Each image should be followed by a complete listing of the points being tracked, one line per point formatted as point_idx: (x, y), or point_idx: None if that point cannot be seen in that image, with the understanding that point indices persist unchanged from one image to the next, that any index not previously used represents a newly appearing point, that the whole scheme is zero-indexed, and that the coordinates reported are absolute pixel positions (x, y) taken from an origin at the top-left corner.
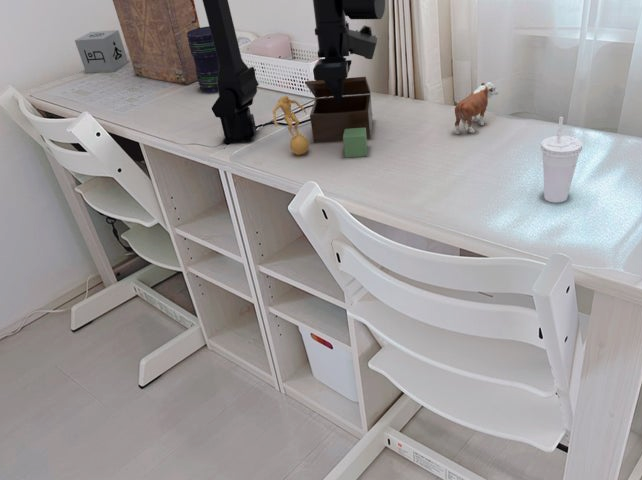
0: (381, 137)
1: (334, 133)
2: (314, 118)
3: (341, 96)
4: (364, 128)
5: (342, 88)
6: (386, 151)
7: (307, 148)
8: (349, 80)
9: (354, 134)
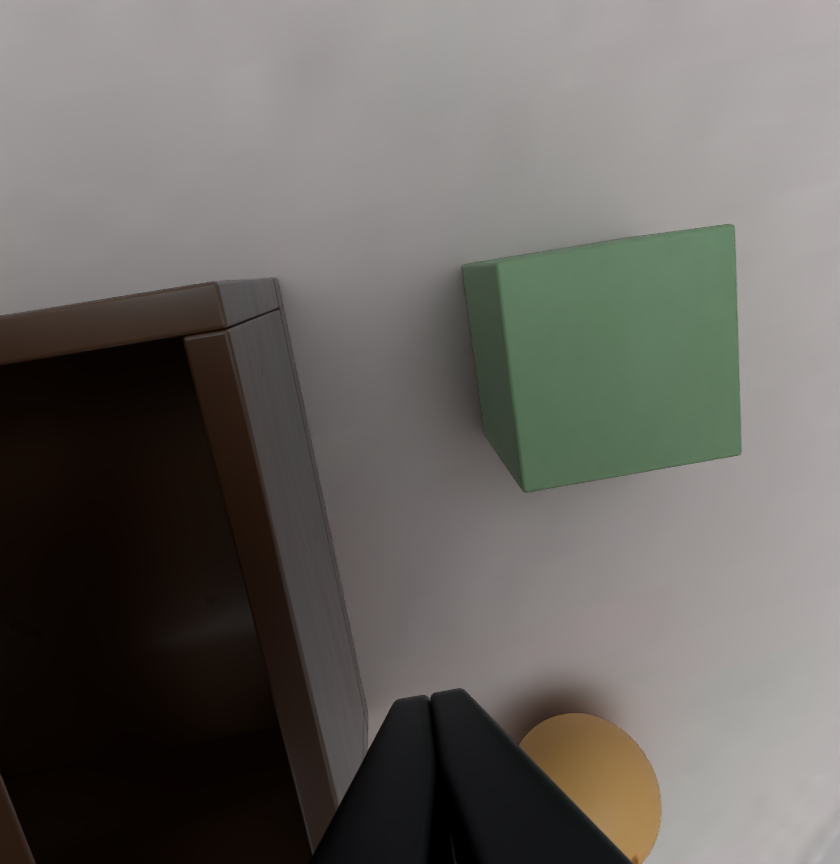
0: (230, 178)
1: (331, 598)
2: None
3: (505, 739)
4: (530, 271)
5: (616, 846)
6: (542, 69)
7: (595, 719)
8: (6, 855)
9: (689, 349)
